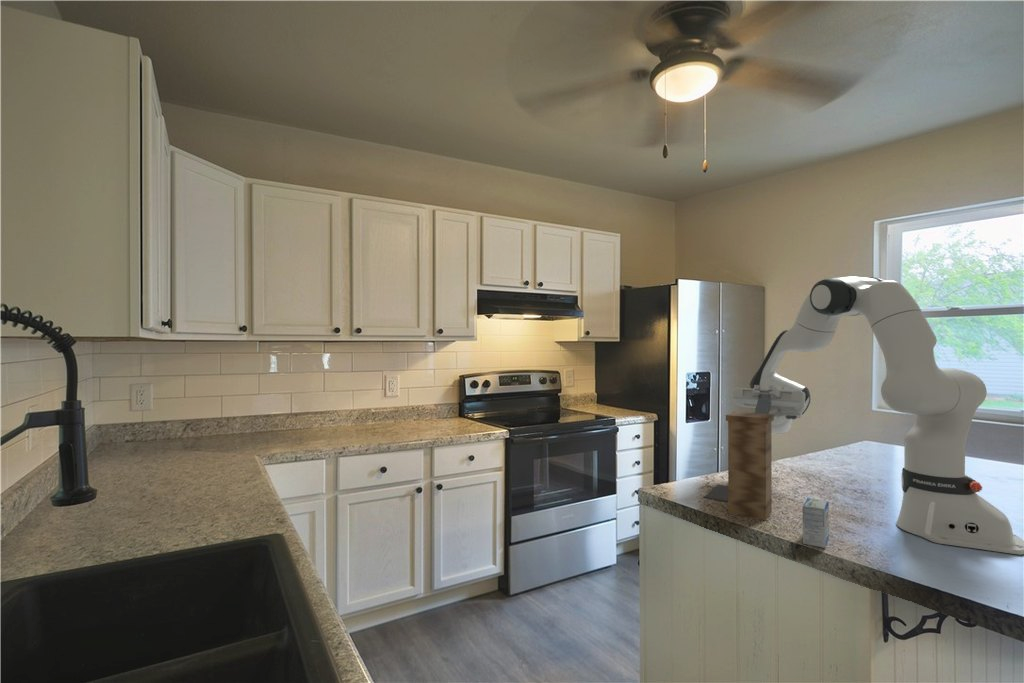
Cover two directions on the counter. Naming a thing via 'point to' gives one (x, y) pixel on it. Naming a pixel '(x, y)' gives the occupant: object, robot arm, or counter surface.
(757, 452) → the stand
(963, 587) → the counter surface
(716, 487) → the rubber mat
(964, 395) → the robot arm
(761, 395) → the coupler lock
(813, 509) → the medicine box
